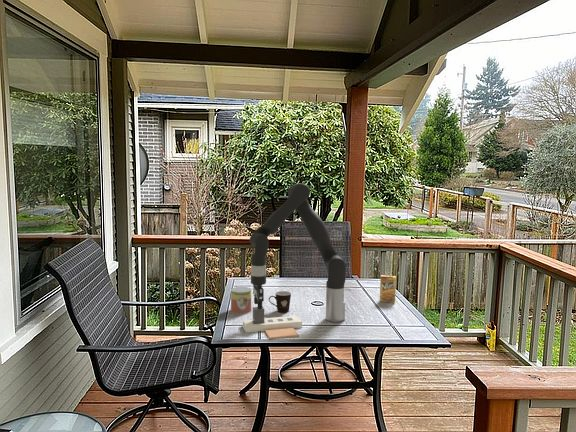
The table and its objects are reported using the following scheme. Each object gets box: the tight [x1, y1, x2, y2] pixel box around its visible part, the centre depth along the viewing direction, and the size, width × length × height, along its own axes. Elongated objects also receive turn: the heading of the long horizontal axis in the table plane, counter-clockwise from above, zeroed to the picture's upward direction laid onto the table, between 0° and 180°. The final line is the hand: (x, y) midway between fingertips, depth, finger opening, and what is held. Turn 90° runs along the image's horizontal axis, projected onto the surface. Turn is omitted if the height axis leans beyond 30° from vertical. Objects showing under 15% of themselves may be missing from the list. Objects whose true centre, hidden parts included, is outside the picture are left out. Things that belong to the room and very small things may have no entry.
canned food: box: [230, 286, 252, 315], centre depth 246 cm, size 11×11×12 cm
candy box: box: [379, 274, 397, 304], centre depth 265 cm, size 9×4×15 cm, turn 72°
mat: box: [264, 327, 299, 340], centre depth 213 cm, size 14×10×1 cm
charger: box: [252, 306, 265, 324], centre depth 220 cm, size 5×4×10 cm
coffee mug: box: [268, 290, 292, 314], centre depth 246 cm, size 12×9×10 cm
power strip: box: [242, 315, 303, 333], centre depth 222 cm, size 28×9×3 cm, turn 105°
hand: (258, 306), depth 219 cm, fingers open, 8 cm apart
